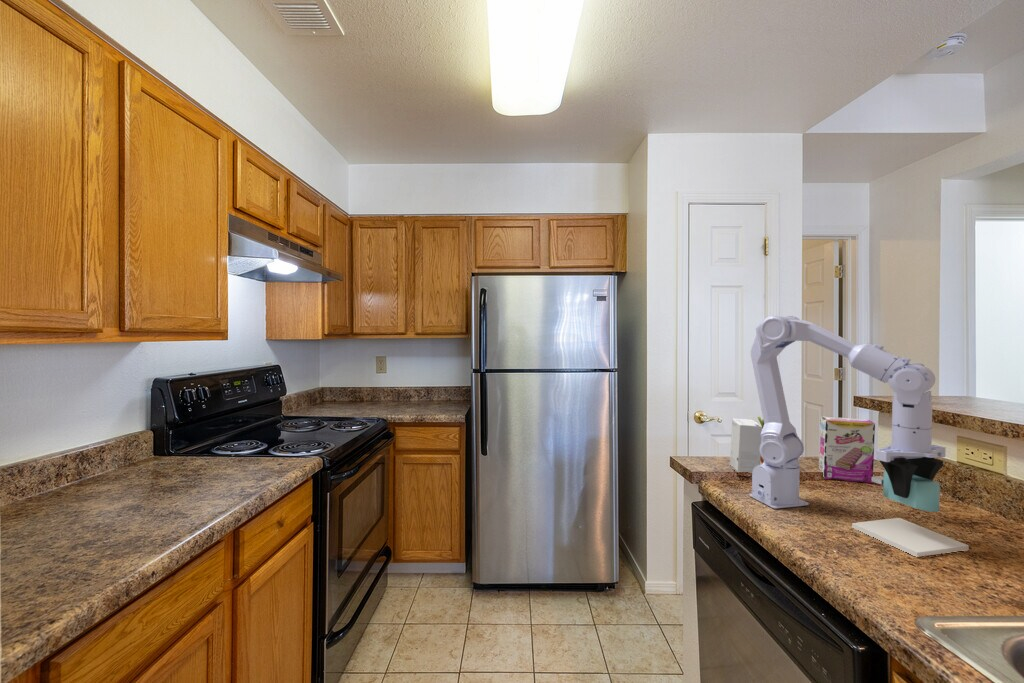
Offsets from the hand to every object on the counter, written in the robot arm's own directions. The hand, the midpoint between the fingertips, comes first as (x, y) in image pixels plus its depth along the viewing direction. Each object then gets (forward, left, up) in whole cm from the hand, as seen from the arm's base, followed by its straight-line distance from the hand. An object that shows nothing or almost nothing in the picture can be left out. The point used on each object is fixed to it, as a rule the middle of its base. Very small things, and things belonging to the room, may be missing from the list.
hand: (910, 495), depth 85 cm
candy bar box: (+19, +30, -9) cm, 36 cm away
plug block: (0, 0, -1) cm, 1 cm away
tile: (-1, 0, -8) cm, 9 cm away
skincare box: (-4, +40, -9) cm, 41 cm away
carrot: (+6, +44, -9) cm, 45 cm away
